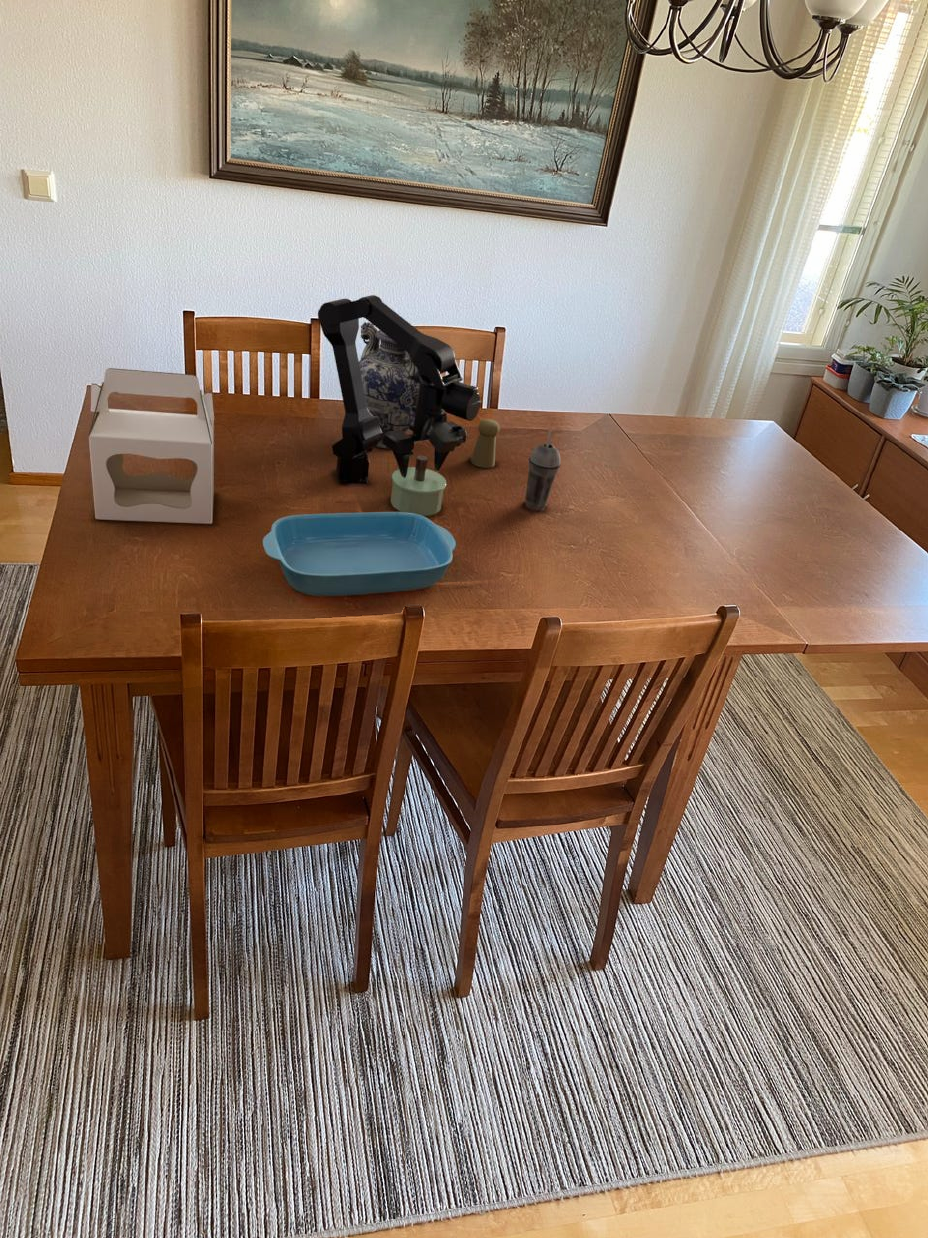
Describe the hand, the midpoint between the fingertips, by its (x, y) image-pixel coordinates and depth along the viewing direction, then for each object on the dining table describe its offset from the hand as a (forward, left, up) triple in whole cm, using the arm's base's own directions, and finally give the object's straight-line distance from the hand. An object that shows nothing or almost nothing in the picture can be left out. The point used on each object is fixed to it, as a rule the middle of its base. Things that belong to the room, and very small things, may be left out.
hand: (420, 473), depth 194 cm
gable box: (-55, +2, -8) cm, 55 cm away
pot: (0, 0, -8) cm, 8 cm away
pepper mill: (+24, +22, -8) cm, 34 cm away
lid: (0, 0, -2) cm, 2 cm away
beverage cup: (+28, -2, -8) cm, 30 cm away
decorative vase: (+2, +35, -8) cm, 36 cm away
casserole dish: (-20, -26, -8) cm, 34 cm away
